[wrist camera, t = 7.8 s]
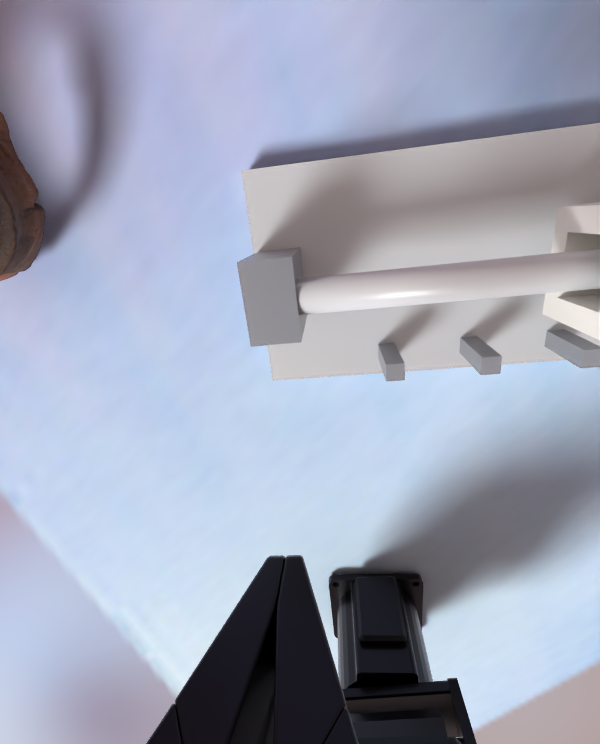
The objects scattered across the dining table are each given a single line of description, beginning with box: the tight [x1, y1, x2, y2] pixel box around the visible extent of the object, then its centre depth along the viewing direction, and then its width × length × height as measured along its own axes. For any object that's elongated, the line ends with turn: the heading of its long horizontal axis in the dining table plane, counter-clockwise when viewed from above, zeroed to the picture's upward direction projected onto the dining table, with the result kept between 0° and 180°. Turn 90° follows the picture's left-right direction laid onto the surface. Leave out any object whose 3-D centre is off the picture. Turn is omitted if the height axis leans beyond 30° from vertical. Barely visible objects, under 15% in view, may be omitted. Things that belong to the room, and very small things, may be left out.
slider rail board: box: [237, 123, 600, 381], centre depth 14 cm, size 22×10×7 cm, turn 96°
